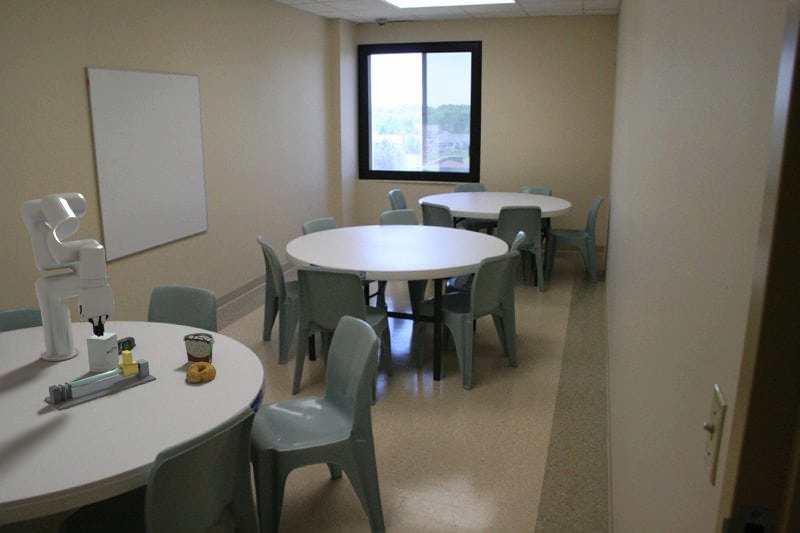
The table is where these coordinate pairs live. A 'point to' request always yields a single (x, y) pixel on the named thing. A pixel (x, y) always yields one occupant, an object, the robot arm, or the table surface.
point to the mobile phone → (125, 344)
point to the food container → (199, 347)
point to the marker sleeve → (128, 364)
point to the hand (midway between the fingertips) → (99, 335)
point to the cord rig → (97, 386)
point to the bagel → (200, 372)
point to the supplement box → (103, 352)
